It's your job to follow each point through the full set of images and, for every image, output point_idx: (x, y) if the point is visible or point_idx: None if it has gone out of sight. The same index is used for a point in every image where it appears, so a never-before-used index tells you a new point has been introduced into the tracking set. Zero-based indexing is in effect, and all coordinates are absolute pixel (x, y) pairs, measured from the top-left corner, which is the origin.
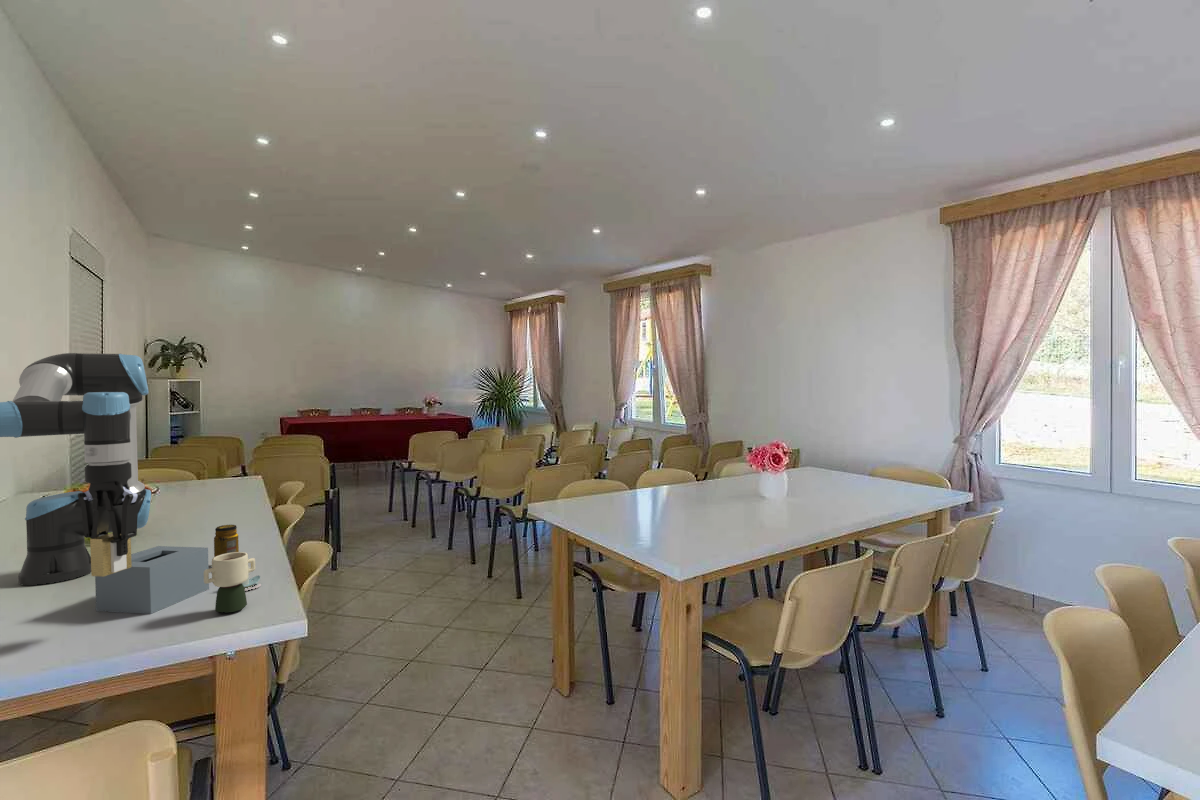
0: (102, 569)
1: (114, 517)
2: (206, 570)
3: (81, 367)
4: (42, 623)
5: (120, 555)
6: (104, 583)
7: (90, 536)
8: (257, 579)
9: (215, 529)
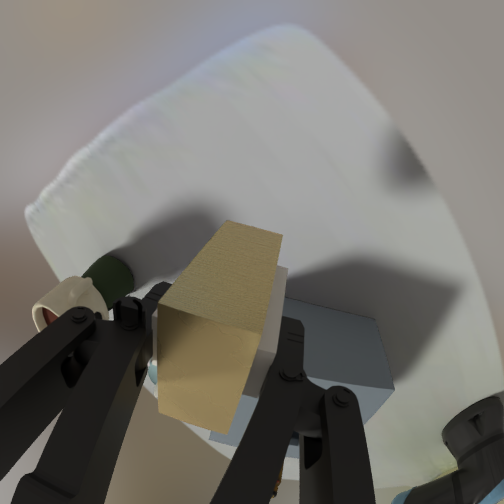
0: (222, 229)
1: (57, 431)
2: (70, 292)
3: None
4: (435, 275)
5: (163, 283)
6: (365, 354)
7: (323, 394)
8: (154, 376)
9: (274, 492)
